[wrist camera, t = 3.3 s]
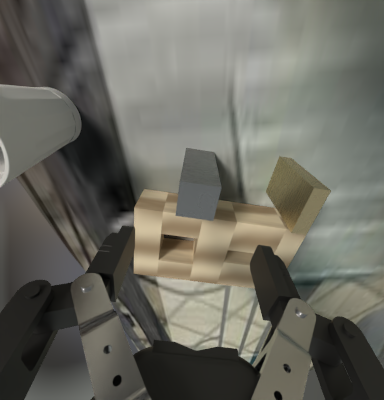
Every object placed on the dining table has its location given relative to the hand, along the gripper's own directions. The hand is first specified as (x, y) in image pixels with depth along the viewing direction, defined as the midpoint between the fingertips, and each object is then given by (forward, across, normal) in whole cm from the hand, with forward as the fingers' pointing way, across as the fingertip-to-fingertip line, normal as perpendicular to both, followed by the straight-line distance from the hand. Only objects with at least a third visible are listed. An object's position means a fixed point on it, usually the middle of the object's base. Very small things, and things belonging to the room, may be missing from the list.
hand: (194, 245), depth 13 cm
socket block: (+15, -4, +11) cm, 20 cm away
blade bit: (+16, -11, 0) cm, 19 cm away
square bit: (+16, 0, 0) cm, 16 cm away
